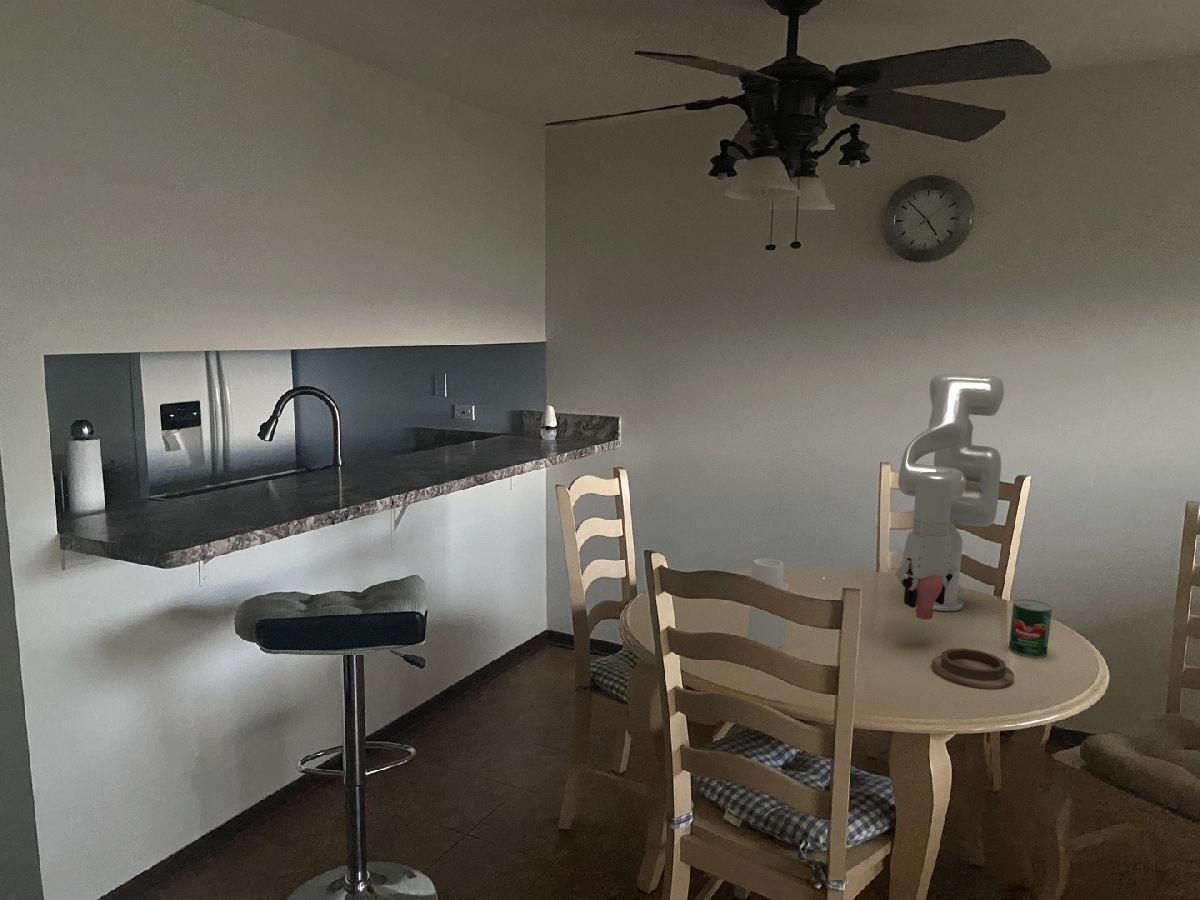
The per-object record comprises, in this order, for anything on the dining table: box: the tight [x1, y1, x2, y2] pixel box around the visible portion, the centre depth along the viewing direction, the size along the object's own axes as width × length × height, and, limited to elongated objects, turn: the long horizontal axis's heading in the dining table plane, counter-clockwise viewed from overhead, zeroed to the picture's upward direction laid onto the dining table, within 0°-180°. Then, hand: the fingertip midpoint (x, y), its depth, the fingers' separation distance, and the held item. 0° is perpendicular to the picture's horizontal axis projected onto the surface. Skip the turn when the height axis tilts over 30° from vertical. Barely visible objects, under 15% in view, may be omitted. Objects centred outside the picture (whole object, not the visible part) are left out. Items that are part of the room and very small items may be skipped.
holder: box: [930, 648, 1015, 690], centre depth 183 cm, size 16×16×3 cm
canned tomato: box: [1008, 598, 1053, 659], centre depth 196 cm, size 8×8×11 cm
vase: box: [747, 558, 789, 650], centre depth 193 cm, size 11×7×20 cm, turn 155°
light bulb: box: [910, 575, 943, 621], centre depth 197 cm, size 7×7×12 cm
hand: (923, 603), depth 197 cm, fingers closed on light bulb, 7 cm apart
